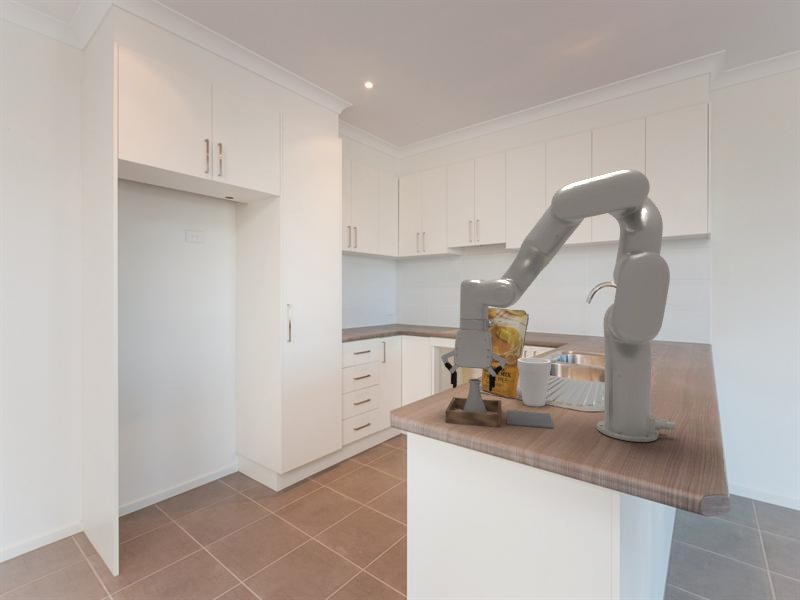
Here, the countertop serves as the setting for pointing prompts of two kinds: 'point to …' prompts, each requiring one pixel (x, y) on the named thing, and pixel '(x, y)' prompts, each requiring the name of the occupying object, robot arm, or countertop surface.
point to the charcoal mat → (529, 419)
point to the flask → (474, 398)
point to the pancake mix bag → (506, 349)
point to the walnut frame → (474, 413)
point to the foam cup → (534, 380)
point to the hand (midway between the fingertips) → (472, 388)
